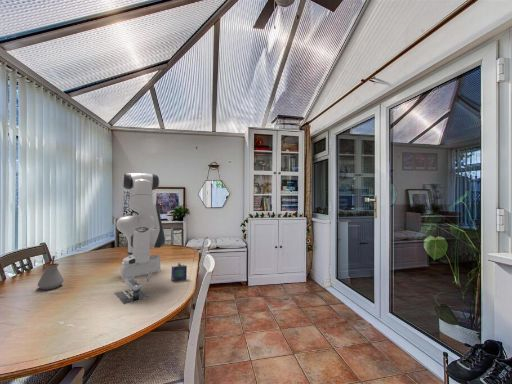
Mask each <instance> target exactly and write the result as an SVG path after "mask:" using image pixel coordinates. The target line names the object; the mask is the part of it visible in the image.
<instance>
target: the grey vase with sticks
mask: <svg viewBox="0 0 512 384" xmlns="http://www.w3.org/2000/svg"><path fill="white" fill-rule="evenodd" d="M51 259H52V260H51V263H48V264H45V265H44V266H43V267H44V271H43V273H42V275H41V277H40V279H39V281H38V283H37V287H38V288H39V289H41V290H45V291H47V290H53V289H57V288H59V287H60V286H61V285H62V284H63V283H64V278H63V276H62V274H61V272H60V271H59V269H58V267H59V265H60V263H55V259H56V255H53V256H51Z"/></svg>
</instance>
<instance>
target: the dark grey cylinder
mask: <svg viewBox="0 0 512 384" xmlns="http://www.w3.org/2000/svg"><path fill="white" fill-rule="evenodd" d="M133 300H134V302H136V301H135V300H138V301H140V300H139V291H135V292H133Z"/></svg>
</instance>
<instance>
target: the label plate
mask: <svg viewBox="0 0 512 384" xmlns="http://www.w3.org/2000/svg"><path fill="white" fill-rule="evenodd" d="M129 289H130V290H129ZM129 289H125V290H126V291H125V290H122V291H123V293H124V294H125V295H127V294H131V293H133V291H131V288H129Z"/></svg>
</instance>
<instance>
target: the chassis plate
mask: <svg viewBox="0 0 512 384" xmlns="http://www.w3.org/2000/svg"><path fill="white" fill-rule="evenodd" d="M130 289H131V288H129V289H128V290H130ZM126 290H127V289H124V290H121V291H118V292H114V295H115V296H116V297H117V299H119V301H120V302H121V303H122V304H123V305H127V304H131V303H134V302H137V301H140V300H141V301H142V300H145V299H149V298H150V296H149V295H148V294H147V293H146V292H144V291H143V290H142V289H141V290H139V300H135V301H134V300H133V298H130V299H129V298H128V297H127V296H126V295H125V294H124V293H123V291H126ZM131 294H132V293H131ZM127 295H128V294H127Z"/></svg>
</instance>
